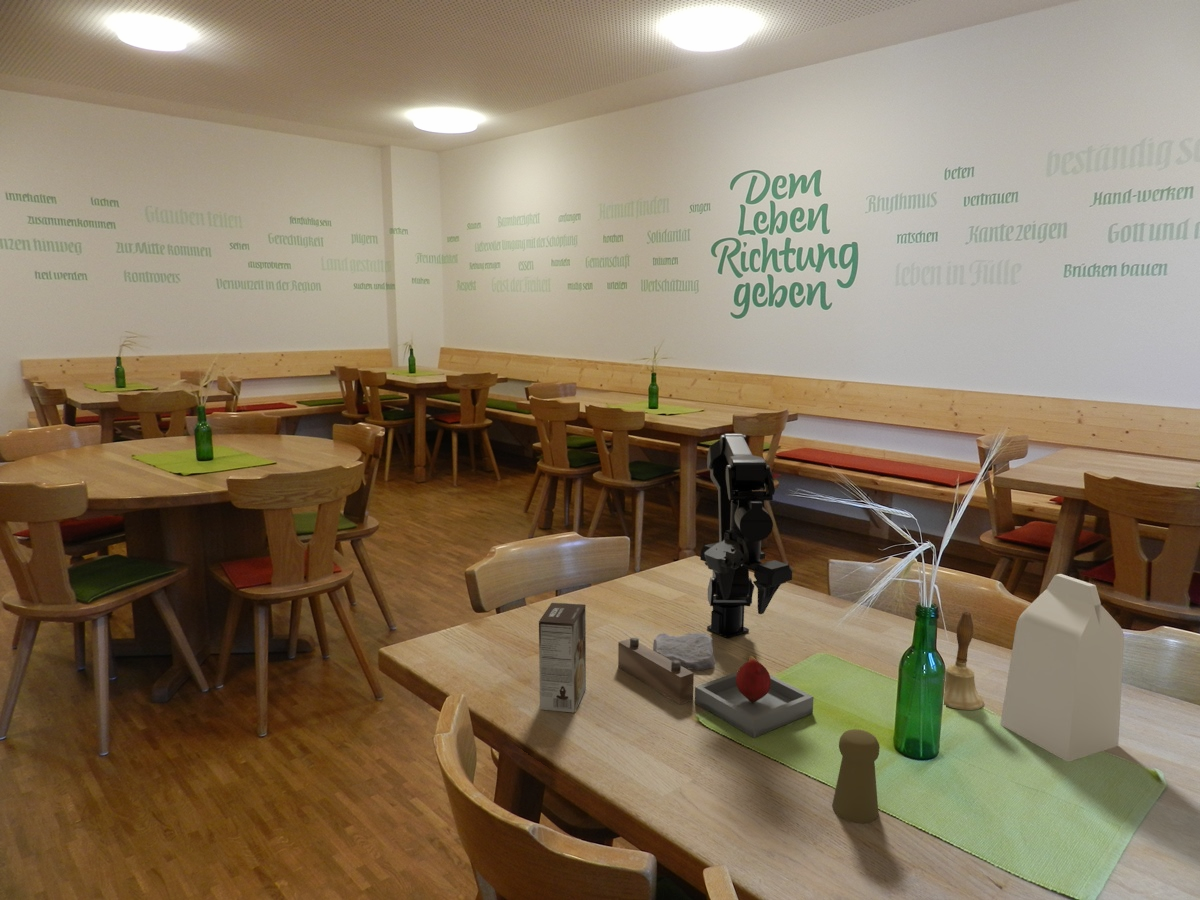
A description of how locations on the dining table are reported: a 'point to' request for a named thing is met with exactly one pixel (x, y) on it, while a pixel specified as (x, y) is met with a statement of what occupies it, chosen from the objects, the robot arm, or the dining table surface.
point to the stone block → (687, 650)
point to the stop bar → (656, 670)
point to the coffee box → (562, 657)
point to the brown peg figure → (857, 777)
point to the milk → (1066, 672)
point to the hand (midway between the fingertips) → (743, 606)
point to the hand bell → (962, 672)
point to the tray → (754, 705)
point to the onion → (753, 680)
